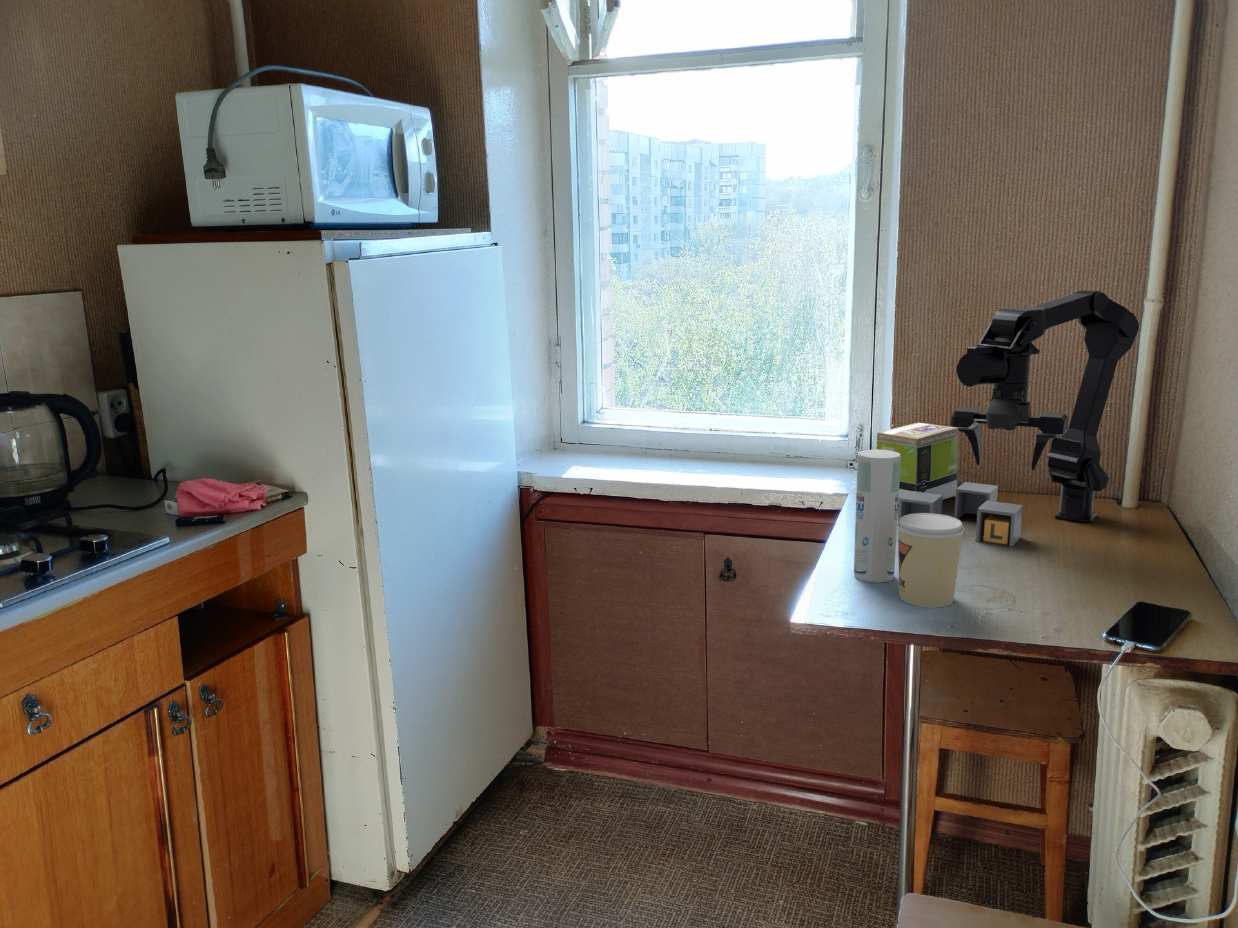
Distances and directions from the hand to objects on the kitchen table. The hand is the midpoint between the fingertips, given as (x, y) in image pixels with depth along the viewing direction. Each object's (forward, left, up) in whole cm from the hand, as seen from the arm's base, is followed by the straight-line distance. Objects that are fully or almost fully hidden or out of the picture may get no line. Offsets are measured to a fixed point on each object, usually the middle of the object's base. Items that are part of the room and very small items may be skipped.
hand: (1005, 467), depth 174 cm
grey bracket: (+5, +1, -12) cm, 13 cm away
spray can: (+35, -11, -12) cm, 39 cm away
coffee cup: (+40, -1, -12) cm, 42 cm away
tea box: (-15, -20, -12) cm, 28 cm away
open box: (-7, -6, -12) cm, 15 cm away
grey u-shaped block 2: (+5, -13, -12) cm, 19 cm away
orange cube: (+5, +1, -12) cm, 13 cm away
